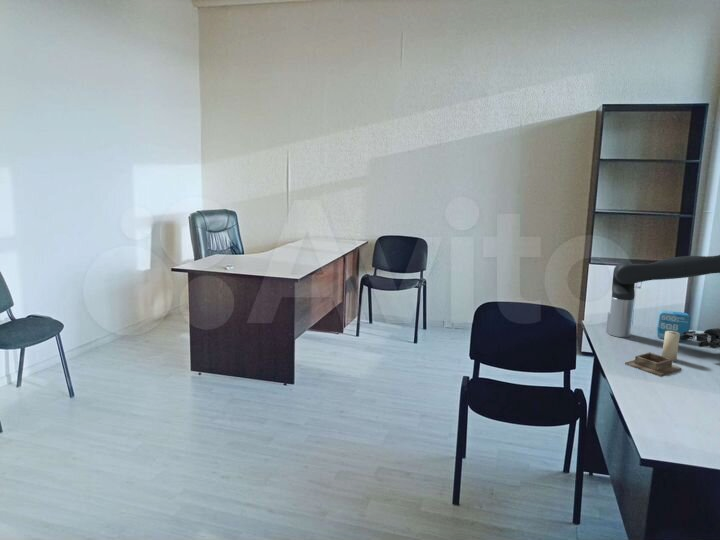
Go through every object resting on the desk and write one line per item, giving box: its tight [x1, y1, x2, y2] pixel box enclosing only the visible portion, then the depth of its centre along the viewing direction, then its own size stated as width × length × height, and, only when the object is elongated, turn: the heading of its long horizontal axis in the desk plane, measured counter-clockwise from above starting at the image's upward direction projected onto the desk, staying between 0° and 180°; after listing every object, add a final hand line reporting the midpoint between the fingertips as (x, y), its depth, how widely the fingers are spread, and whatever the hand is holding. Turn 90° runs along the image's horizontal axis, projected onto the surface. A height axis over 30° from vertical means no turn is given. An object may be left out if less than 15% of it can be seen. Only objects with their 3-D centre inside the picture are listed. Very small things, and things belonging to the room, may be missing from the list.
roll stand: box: [624, 352, 682, 377], centre depth 215 cm, size 14×14×4 cm
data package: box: [656, 310, 691, 342], centre depth 249 cm, size 12×4×12 cm, turn 66°
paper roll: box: [661, 331, 680, 362], centre depth 223 cm, size 5×5×11 cm
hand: (689, 341), depth 226 cm, fingers open, 8 cm apart
